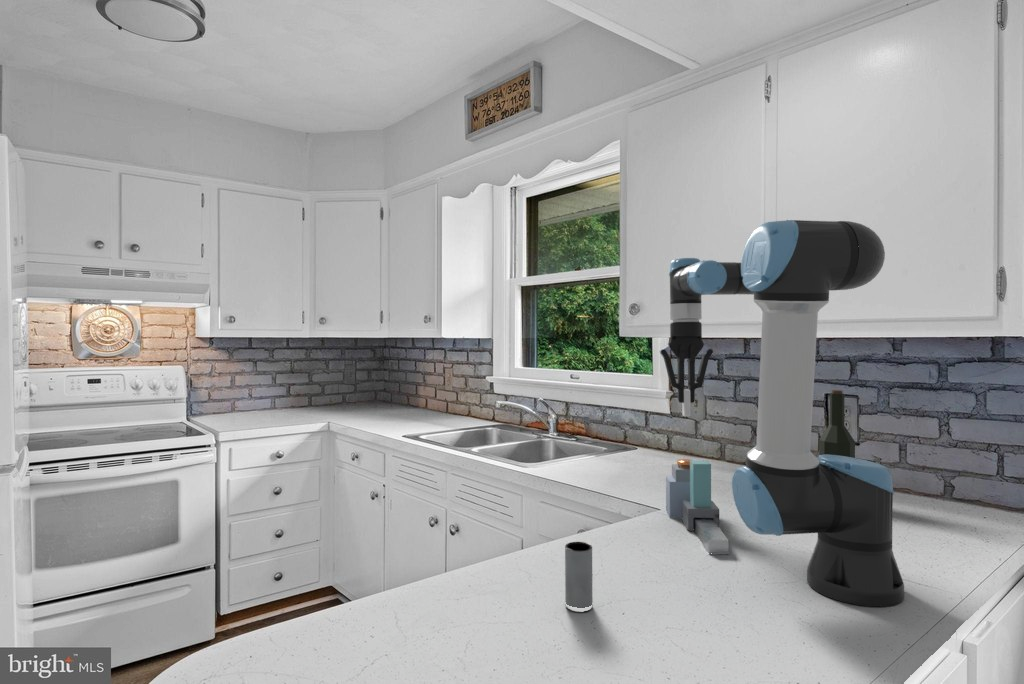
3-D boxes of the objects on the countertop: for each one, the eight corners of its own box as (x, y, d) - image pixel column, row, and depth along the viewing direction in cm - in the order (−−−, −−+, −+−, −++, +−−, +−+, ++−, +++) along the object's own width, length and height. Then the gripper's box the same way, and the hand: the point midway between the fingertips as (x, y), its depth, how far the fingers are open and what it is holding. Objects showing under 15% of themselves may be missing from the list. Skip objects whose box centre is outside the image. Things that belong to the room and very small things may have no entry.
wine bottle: (818, 505, 160) (819, 391, 159) (819, 497, 167) (819, 388, 167) (855, 509, 156) (855, 392, 155) (854, 501, 163) (854, 389, 163)
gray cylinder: (575, 598, 106) (574, 539, 106) (597, 605, 103) (597, 545, 103) (560, 607, 102) (559, 547, 102) (583, 615, 99) (582, 553, 99)
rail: (728, 554, 126) (728, 540, 125) (708, 554, 126) (708, 539, 126) (704, 519, 148) (704, 507, 148) (687, 519, 149) (687, 507, 149)
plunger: (697, 494, 150) (696, 463, 150) (678, 494, 151) (678, 462, 150) (693, 489, 155) (693, 459, 154) (675, 489, 155) (675, 459, 155)
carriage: (719, 531, 139) (719, 465, 139) (688, 530, 140) (687, 465, 140) (712, 521, 146) (712, 459, 146) (682, 520, 147) (682, 458, 147)
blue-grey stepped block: (707, 518, 149) (707, 470, 149) (669, 518, 150) (669, 469, 150) (702, 511, 155) (701, 464, 155) (666, 510, 156) (665, 464, 156)
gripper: (709, 321, 155) (709, 414, 155) (657, 321, 156) (657, 413, 156) (716, 320, 147) (716, 418, 148) (661, 321, 149) (662, 417, 149)
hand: (686, 415), depth 152 cm, fingers closed
